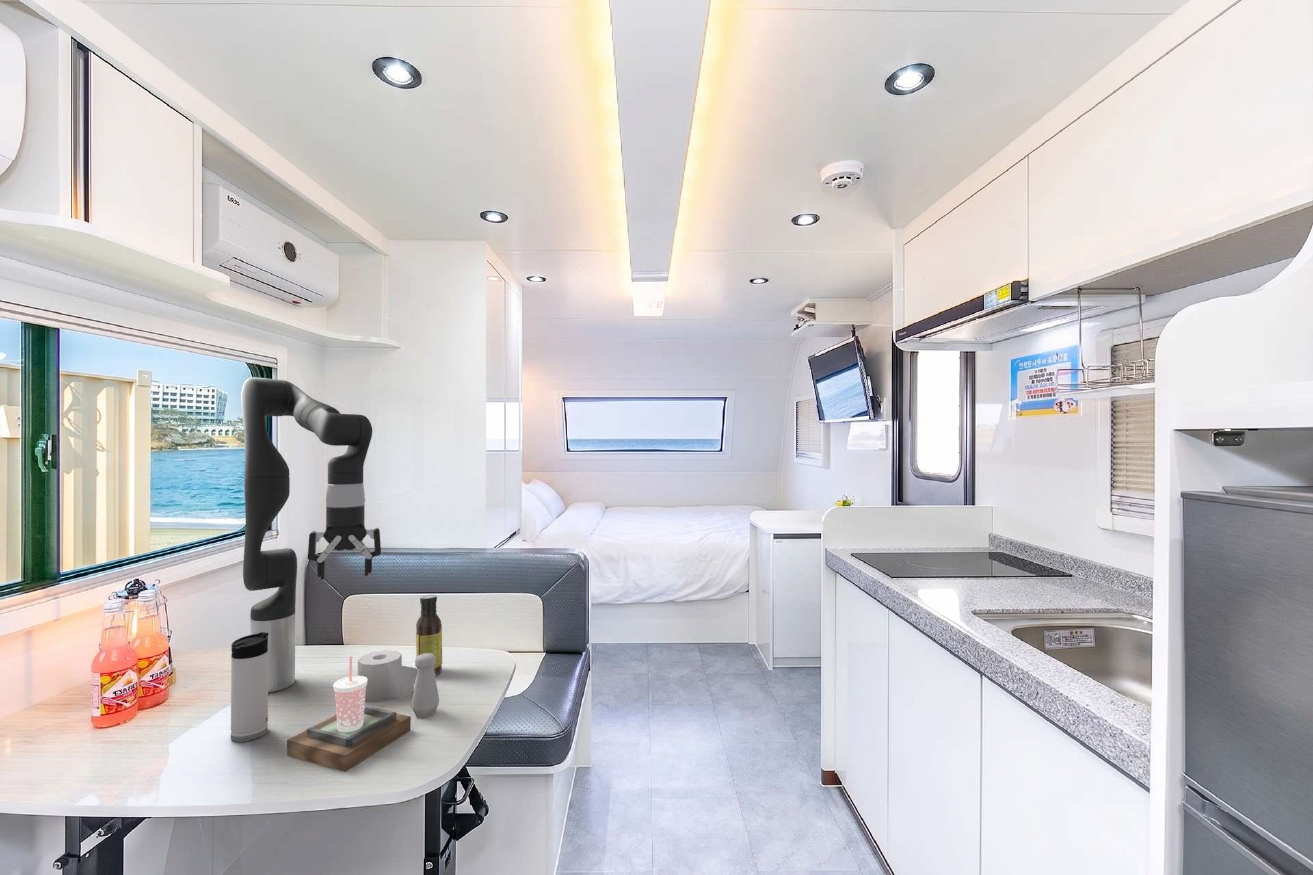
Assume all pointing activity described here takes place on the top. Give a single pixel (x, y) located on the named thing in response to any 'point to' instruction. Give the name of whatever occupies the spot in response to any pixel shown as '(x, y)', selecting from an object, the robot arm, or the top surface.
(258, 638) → the travel mug
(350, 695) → the beverage cup
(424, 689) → the salt shaker
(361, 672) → the toilet tissue
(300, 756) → the dock
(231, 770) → the top surface
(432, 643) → the sauce bottle
